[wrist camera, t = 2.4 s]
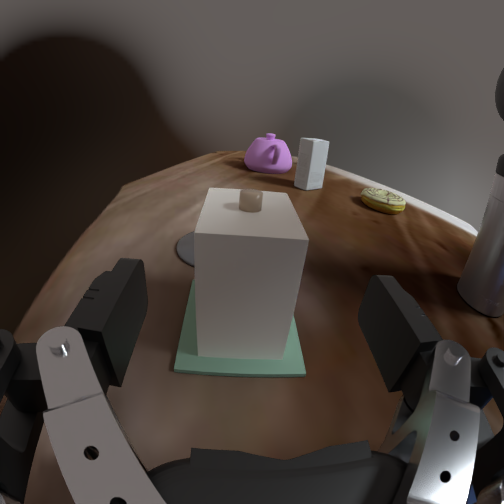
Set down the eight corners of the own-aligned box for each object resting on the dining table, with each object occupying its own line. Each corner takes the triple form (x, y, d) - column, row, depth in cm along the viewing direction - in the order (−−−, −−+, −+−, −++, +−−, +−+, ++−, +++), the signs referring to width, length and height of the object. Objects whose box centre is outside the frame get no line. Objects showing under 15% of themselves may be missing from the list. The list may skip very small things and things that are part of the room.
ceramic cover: (207, 288, 29) (210, 174, 24) (272, 292, 30) (288, 180, 24) (198, 356, 21) (194, 212, 16) (282, 359, 22) (312, 221, 16)
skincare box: (309, 184, 72) (316, 137, 66) (322, 189, 69) (330, 141, 63) (292, 186, 68) (299, 136, 62) (306, 191, 65) (313, 140, 59)
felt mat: (192, 282, 31) (192, 279, 30) (285, 287, 31) (286, 284, 31) (174, 372, 20) (173, 368, 20) (304, 376, 21) (306, 373, 21)
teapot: (280, 163, 93) (283, 132, 88) (299, 178, 76) (304, 140, 71) (238, 160, 91) (241, 128, 86) (249, 175, 74) (252, 135, 68)
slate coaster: (218, 224, 44) (218, 221, 44) (277, 249, 39) (278, 246, 39) (160, 247, 37) (159, 244, 36) (221, 283, 31) (221, 280, 31)
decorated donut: (377, 199, 69) (380, 185, 67) (410, 215, 61) (414, 200, 59) (351, 200, 64) (354, 185, 62) (386, 218, 56) (391, 201, 54)
